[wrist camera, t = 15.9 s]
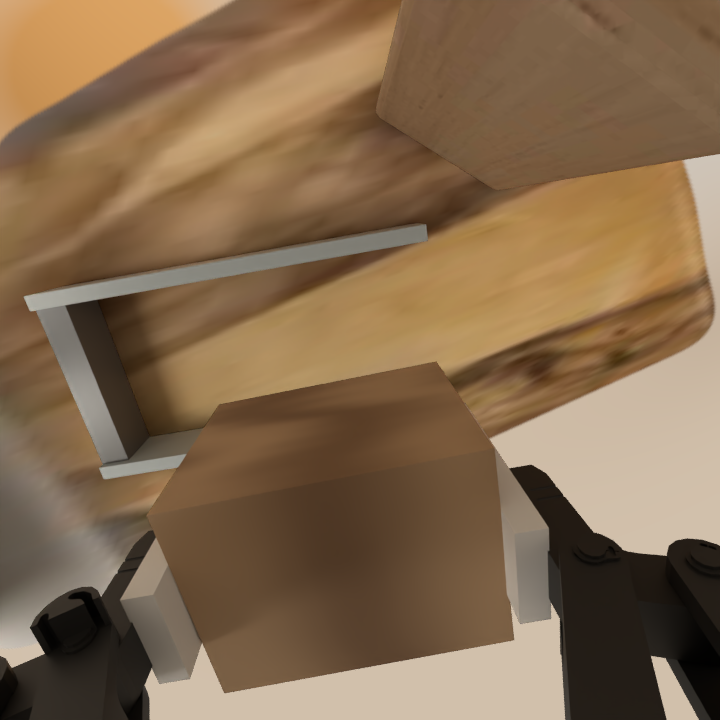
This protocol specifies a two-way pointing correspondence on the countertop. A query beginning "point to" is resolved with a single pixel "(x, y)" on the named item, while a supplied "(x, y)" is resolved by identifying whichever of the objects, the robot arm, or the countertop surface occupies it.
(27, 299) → the grey u-shaped frame
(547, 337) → the countertop surface
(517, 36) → the wooden block
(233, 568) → the walnut block
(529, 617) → the robot arm
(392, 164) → the countertop surface
